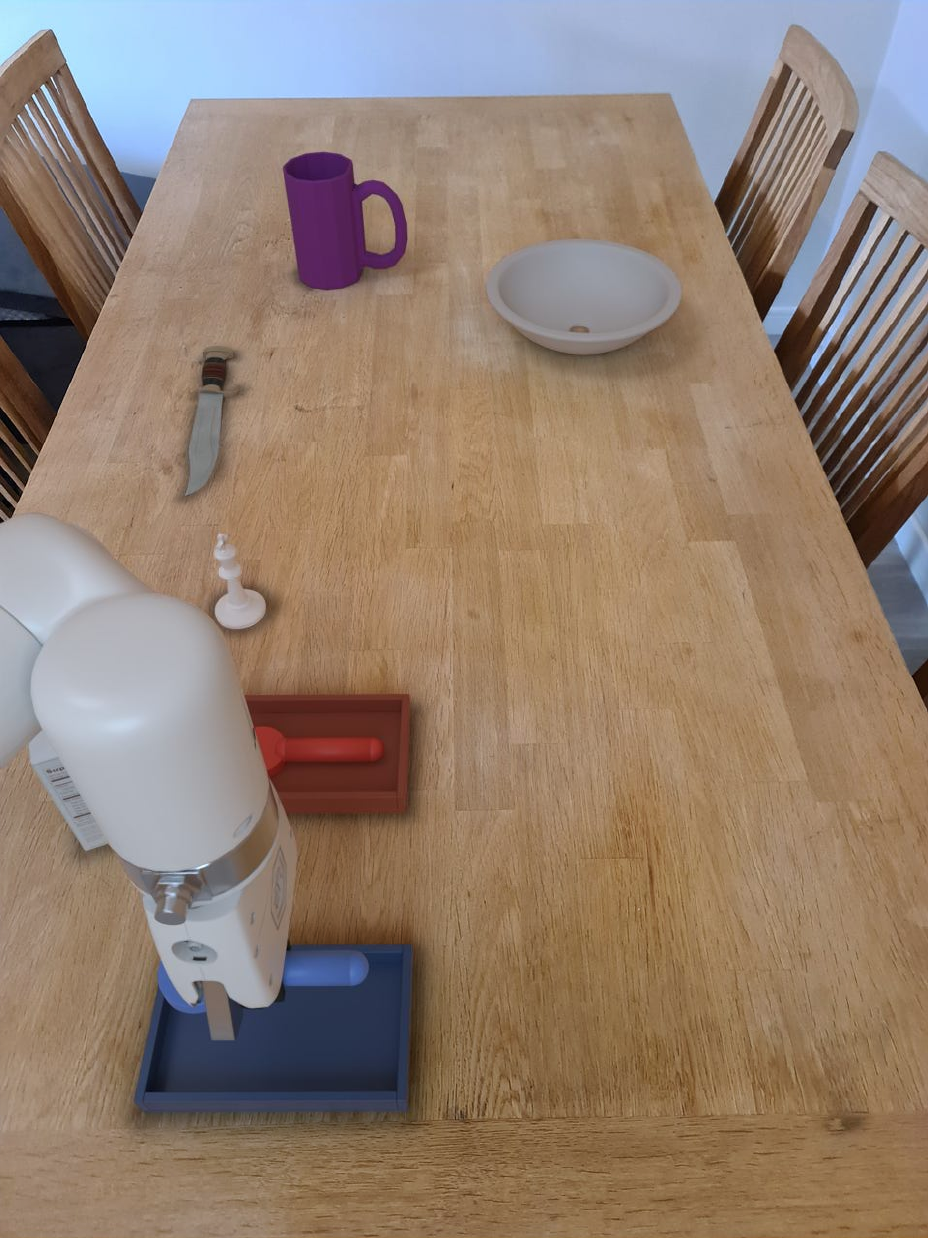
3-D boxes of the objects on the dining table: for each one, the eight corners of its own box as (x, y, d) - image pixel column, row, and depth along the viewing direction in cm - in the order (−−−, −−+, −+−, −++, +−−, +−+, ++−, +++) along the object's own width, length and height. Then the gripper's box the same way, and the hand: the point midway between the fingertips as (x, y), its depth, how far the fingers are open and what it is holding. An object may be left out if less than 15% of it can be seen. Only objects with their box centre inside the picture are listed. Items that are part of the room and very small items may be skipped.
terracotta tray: (191, 816, 78) (184, 799, 76) (213, 713, 85) (207, 695, 83) (406, 814, 78) (404, 797, 76) (410, 711, 84) (409, 693, 83)
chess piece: (206, 626, 91) (182, 550, 84) (227, 589, 95) (205, 512, 87) (255, 635, 91) (235, 559, 83) (275, 598, 94) (257, 521, 86)
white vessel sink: (462, 369, 119) (461, 321, 114) (513, 273, 134) (514, 227, 130) (656, 401, 114) (664, 352, 109) (687, 298, 129) (695, 251, 125)
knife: (220, 492, 103) (172, 489, 103) (221, 503, 104) (173, 500, 104) (244, 346, 121) (203, 343, 120) (245, 357, 122) (204, 354, 121)
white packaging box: (73, 780, 80) (19, 685, 71) (163, 753, 82) (122, 657, 72) (83, 855, 76) (26, 765, 66) (178, 825, 77) (136, 733, 68)
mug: (303, 258, 138) (288, 150, 127) (412, 259, 137) (406, 151, 126) (293, 292, 132) (276, 181, 121) (407, 293, 131) (400, 182, 120)
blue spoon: (372, 938, 60) (369, 924, 59) (367, 1013, 57) (364, 1000, 56) (170, 939, 60) (162, 925, 59) (154, 1014, 57) (146, 1001, 56)
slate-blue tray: (143, 1114, 63) (133, 1102, 61) (175, 960, 70) (166, 945, 68) (408, 1113, 63) (406, 1101, 61) (413, 959, 70) (411, 943, 68)
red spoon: (386, 733, 82) (384, 719, 81) (383, 780, 79) (381, 766, 77) (237, 734, 82) (233, 720, 81) (228, 781, 79) (224, 767, 78)
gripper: (250, 987, 40) (310, 1117, 54) (295, 683, 51) (335, 856, 64) (68, 989, 40) (174, 1118, 54) (151, 684, 51) (222, 857, 64)
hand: (262, 974), depth 59 cm, fingers closed on blue spoon, 2 cm apart
